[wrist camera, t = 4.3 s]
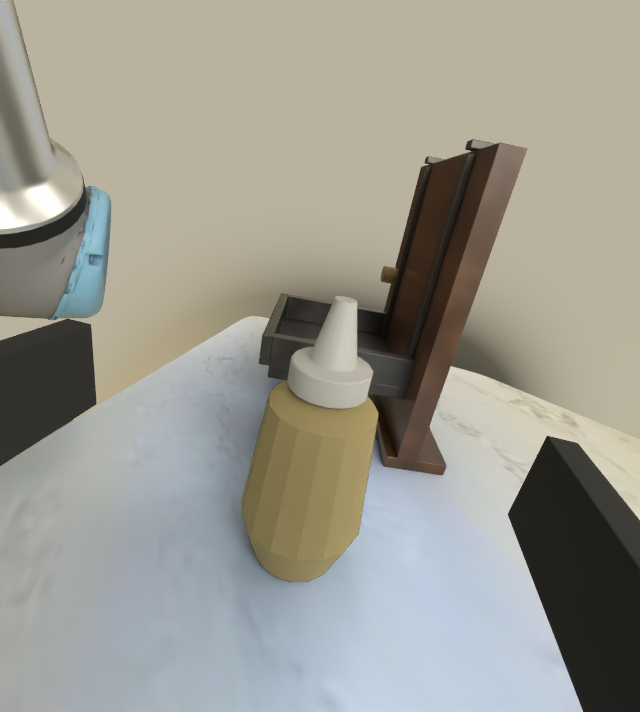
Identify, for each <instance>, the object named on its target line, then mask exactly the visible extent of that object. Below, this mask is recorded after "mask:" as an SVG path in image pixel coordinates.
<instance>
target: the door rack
mask: <svg viewBox="0 0 640 712" xmlns="http://www.w3.org/2000/svg"><path fill="white" fill-rule="evenodd" d="M466 150H470V151H471V152H468V153H465V154H462V155H459V156H455V157H452V158H449V159H446V160H444V159H439V158H435V157H426V159H425V163H426V164H430V165H426V166H423V167H421V170H420V174H419V178H418V182H417V185H416V189H415V193H414V197H413V201H412V205H411V209H410V212H409V217H408V220H407V225H406V228H405V232H404V236H403V240H402V244H401V247H400V252H399V255H398V259H397V263H396V267H395V268H392V267H386V266H385V267H384V268H383V270H382V274H381V282H385V283H390V284H391V286H390V290H389V294H388V298H387V302H386V306H385V309H384V311H378V310H372V309H367V308H361V307H357V356H358V357H360V358H362V359H363V360H364V361H366V362H367V363H368V364H369V365H370V367H371V369H372V370H373V375H372V379H371V383H370V387H369V391H368V396H369V398H370V399H371V400H372V402H373V403H374V405H375V407H376V409H377V411H378V413H379V414H378V420H377V426H376V432H377V437H378V441H379V446H380V451H381V455H382V460H383V464H384V466H387V467H393V468H398V469H405V470H412V471H419V472H426V473H432V474H439V475H443V474H444V471H445V469H446V464H445V461H444V459H443V457H442V455H441V453H440V450H439V448H438V446H437V444H436V441H435V439H434V437H433V435H432V433H431V430H430V428H429V425H430V423H431V420H432V417H433V414H434V411H435V408H436V406H437V403H438V400H439V397H440V394H441V391H442V389H443V386H444V383H445V380H446V377H447V375H448V372H449V369H450V366H451V363H452V360H453V357H454V355H455V352H456V349H457V346H458V343H459V341H460V338H461V335H462V332H463V329H464V326H465V324H466V321H467V318H468V315H469V312H470V310H471V306H472V304H473V301H474V298H475V295H476V292H477V290H478V287H479V284H480V281H481V278H482V276H483V273H484V269H485V267H486V264H487V261H488V259H489V256H490V253H491V250H492V247H493V245H494V242H495V239H496V236H497V233H498V230H499V228H500V225H501V222H502V219H503V216H504V213H505V211H506V208H507V205H508V202H509V199H510V196H511V194H512V191H513V188H514V185H515V182H516V179H517V177H518V174H519V171H520V168H521V165H522V163H523V160H524V157H525V154H526V151H527V148H523V147H518V146H514V145H509V144H504V143H497V144H494V143H489V142H484V141H480V140H474V139H472V140H470V141H468V142H467V144H466ZM332 304H333V302H327V301H322V300H317V299H311V298H305V297H299V296H294V295H288V294H283V293H282V294H281V295H280V297H279V300H278V302H277V304H276V306H275V309H274V311H273V313H272V315H271V317H270V320H269V322H268V324H267V326H266V329H265V331H264V333H263V335H262V342H261V350H260V358H259V364H263V365H269V371H268V377H271V378H278V379H284V380H288V374H289V368H290V362H291V357H292V356H293V354H294V353H295V352H296V351H297V350H300V349H303V348H306V347H314V345H315V343H316V340H317V338H318V336H319V333H320V331H321V329H322V327H323V324H324V322H325V320H326V317H327V315H328V313H329V310H330V308H331V306H332ZM283 322H284V323H283ZM282 325H283V326H282ZM281 328H282V329H281ZM280 331H281V332H280Z"/></svg>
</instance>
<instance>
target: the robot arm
mask: <svg viewBox="0 0 640 712" xmlns="http://www.w3.org/2000/svg"><path fill="white" fill-rule="evenodd" d="M110 223H111V201H110V197H109V195H108V194H107V193H106V192H104V191H102V190H99V189H97V188H96V187H94V186H88V187H87V188H86V187H85V185H84V180H83V176H82V173H81V170H80V167H79V165H78V163H77V161H76V160H75V159H74V157H73V156H72V155H71V154H70V153H69V152H68V151H67V150H66V149H65V148H64V147H62V146H61V145H60V144H59V143H57V142H56V141H54V140H53V139H51V138H49V135H48V131H47V127H46V124H45V120H44V116H43V112H42V108H41V104H40V100H39V97H38V93H37V89H36V85H35V82H34V77H33V74H32V70H31V66H30V62H29V59H28V55H27V51H26V47H25V43H24V40H23V36H22V31H21V28H20V24H19V20H18V16H17V12H16V9H15V5H14V1H13V0H0V316H11V317H29V318H45V319H49V320H56V319H58V318H88V317H91V316H93V315H95V314H96V313H98V312H99V310H100V309H101V306H102V304H103V299H104V292H105V284H106V275H107V263H108V253H109V239H110ZM94 405H96V391H95V377H94V363H93V347H92V333H91V324H87V323H82V322H79V321H75V320H70V319H66V320H63V321H59V322H57V323H53V324H50V325H47V326H44V327H41V328H38V329H35V330H32V331H29V332H26V333H22V334H19V335H16V336H13V337H10V338H7V339H4V340H1V341H0V466H1V465H2V464H4V463H6V462H7V461H9V460H10V459H12V458H13V457H15V456H16V455H18V454H20V453H21V452H23V451H24V450H26V449H27V448H29V447H30V446H32V445H34V444H35V443H37V442H38V441H40V440H41V439H43V438H44V437H46V436H48V435H49V434H51V433H52V432H54V431H55V430H57V429H58V428H60V427H62V426H63V425H65V424H66V423H68V422H69V421H71V420H72V419H74V418H76V417H77V416H79V415H80V414H82V413H83V412H85V411H86V410H88V409H90V408H91V407H93V406H94ZM508 516H509V519H510V521H511V524H512V527H513V529H514V532H515V534H516V537H517V540H518V542H519V545H520V547H521V550H522V553H523V555H524V558H525V560H526V563H527V566H528V568H529V571H530V574H531V576H532V579H533V581H534V584H535V587H536V589H537V592H538V594H539V597H540V600H541V602H542V605H543V608H544V610H545V613H546V615H547V618H548V621H549V623H550V626H551V628H552V631H553V634H554V636H555V639H556V642H557V644H558V647H559V649H560V652H561V655H562V657H563V660H564V662H565V665H566V668H567V670H568V673H569V676H570V678H571V681H572V683H573V686H574V689H575V691H576V694H577V696H578V699H579V702H580V704H581V707H582V709H583V712H640V520H639V519H638V518H637V516H636V515H635V514H634V513H633V511H632V510H631V509H630V508H629V506H628V505H627V504H626V503H625V501H624V500H623V499H622V498H621V496H620V495H619V494H618V493H617V491H616V490H615V489H614V488H613V487H612V485H611V484H610V483H609V482H608V480H607V479H606V478H605V477H604V475H603V474H602V473H601V472H600V470H599V469H598V468H597V467H596V465H595V464H594V463H593V462H592V460H591V459H590V458H589V457H588V455H587V454H586V453H585V452H584V450H583V449H582V448H581V447H580V445H579V444H578V443H575V442H570V441H566V440H562V439H558V438H554V437H550V436H547V437H546V439H545V441H544V443H543V445H542V447H541V449H540V451H539V453H538V455H537V457H536V459H535V461H534V463H533V465H532V467H531V469H530V471H529V473H528V475H527V477H526V479H525V481H524V483H523V485H522V487H521V489H520V491H519V493H518V495H517V497H516V499H515V501H514V503H513V505H512V507H511V509H510V511H509V513H508Z"/></svg>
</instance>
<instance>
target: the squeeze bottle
mask: <svg viewBox="0 0 640 712" xmlns="http://www.w3.org/2000/svg"><path fill="white" fill-rule="evenodd" d="M372 375H373V370H372V369H371V367H370V365H369V364H368V363H367V362H366V361H364V360H363V359H362V358H360V357H358V356H357V301H356V300H355V299H352V298H349V297H344V296H336V297H335V299H334V301H333V304H332V306H331V308H330V310H329V313H328V315H327V317H326V320H325V322H324V324H323V327H322V329H321V331H320V333H319V336H318V338H317V340H316V343H315V345H314V347H306V348H303V349H300V350H297V351H296V352H295V353H294V354H293V356H292V357H291V362H290V368H289V374H288V380H286V381H283V382H281V383H279V384H277V385H276V386H275V387H274V389H273V390H272V391H271V392H270V394H269V397H268V401H267V405H266V408H265V412H264V416H263V420H262V424H261V428H260V431H259V435H258V439H257V443H256V447H255V451H254V454H253V458H252V462H251V466H250V470H249V474H248V478H247V481H246V485H245V489H244V493H243V499H242V517H243V520H244V523H245V526H246V529H247V532H248V535H249V538H250V541H251V544H252V547H253V550H254V552H255V555H256V557H257V559H258V561H259V563H260V565H261V566H262V567H264V568H265V569H266V570H267V571H268V572H269V573H270V574H271V575H272V576H275V577H277V578H280V579H283V580H286V581H288V582H308V581H310V580H312V579H314V578H316V577H319V576H321V575H323V574H324V573H325V572H326V571H327V570H328V568H329V567H330V566H331V565H332V564H333V563H334V562H335V561H336V560H337V559H338V558H339V557H340V556H341V555H342V553H343V552H344V551H345V550H346V549H347V548H348V547H349V545H350V544H351V543H352V542H353V541H354V539H355V538H356V537H357V536H358V534H359V529H360V523H361V517H362V511H363V505H364V499H365V493H366V487H367V481H368V475H369V468H370V462H371V456H372V450H373V444H374V438H375V432H376V426H377V420H378V414H379V413H378V411H377V409H376V407H375V405H374V403H373V402H372V400H371V399H370V398H369V397H368V396H367V394H368V391H369V387H370V383H371V379H372Z"/></svg>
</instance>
